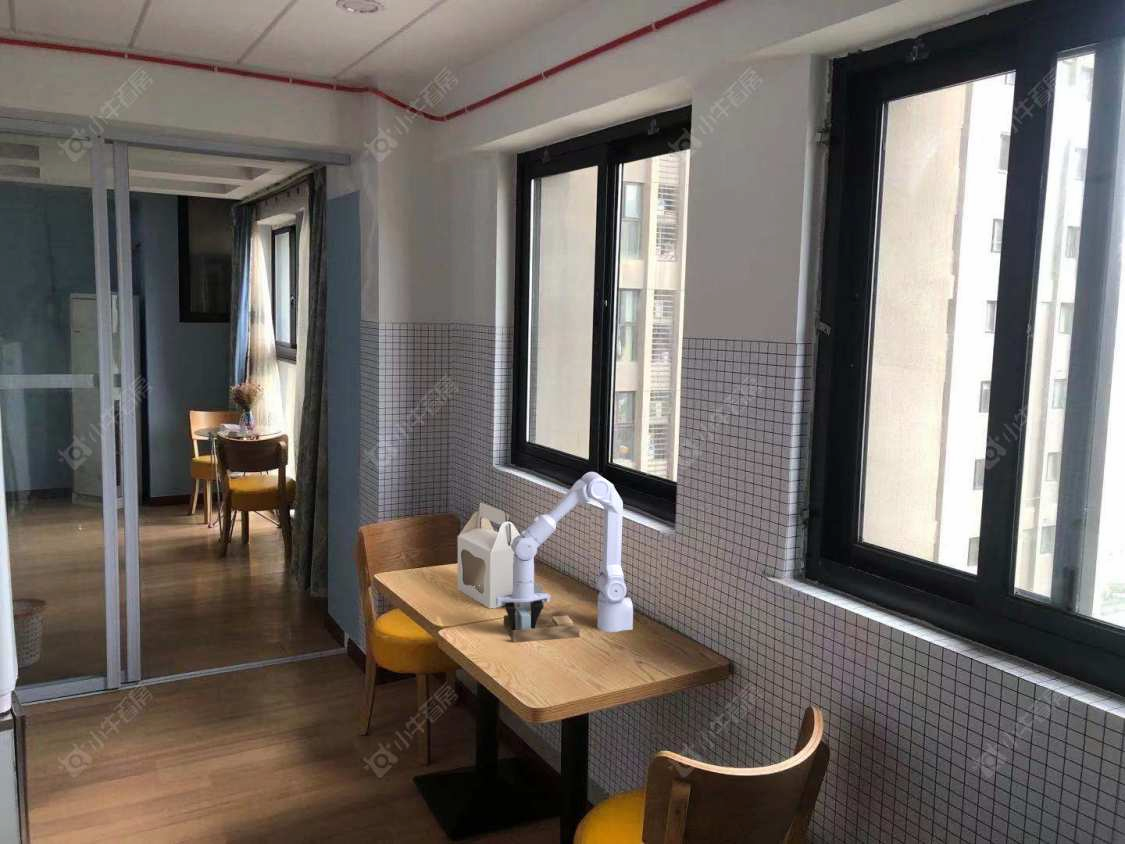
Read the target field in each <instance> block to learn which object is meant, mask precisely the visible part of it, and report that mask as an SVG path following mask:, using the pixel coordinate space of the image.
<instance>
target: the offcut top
mask: <svg viewBox="0 0 1125 844" xmlns="http://www.w3.org/2000/svg"><path fill="white" fill-rule="evenodd" d="M552 622H553V624H554V625H555V626H556V627H560V626H573V625H574V622H573V620H572V619H571V618H570V617H569V615H568V616H554V617H552Z"/></svg>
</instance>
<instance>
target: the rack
mask: <svg viewBox="0 0 1125 844" xmlns="http://www.w3.org/2000/svg"><path fill="white" fill-rule="evenodd" d="M529 613H530V615H531V612H529ZM554 616H568V617H569V615H568V610H561V611H560V610H559V611H547V612H545V611H544V612H541V613H540V614H539V616H538V619H537V622H536V626H535V629H532V628H531V629H523V630H516V628H515V630H513V631H512V629H511V624H510V620H509V616H508V614H507V615H506V614H504V615H503V628H504V629H505V631H506V633H507V634H508V636H509V638H510V639H511V641H512V643H514V644H515V643H516V644H517V643H526V642H528V643H529V642H538V641H539V642H541V641H552V640H564V639H575V638H580V630H581V629H580V627H581V626H580V625H579V624H575V625H573V626H560V627H550V621H552V617H554ZM515 620H516V614H515Z"/></svg>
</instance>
